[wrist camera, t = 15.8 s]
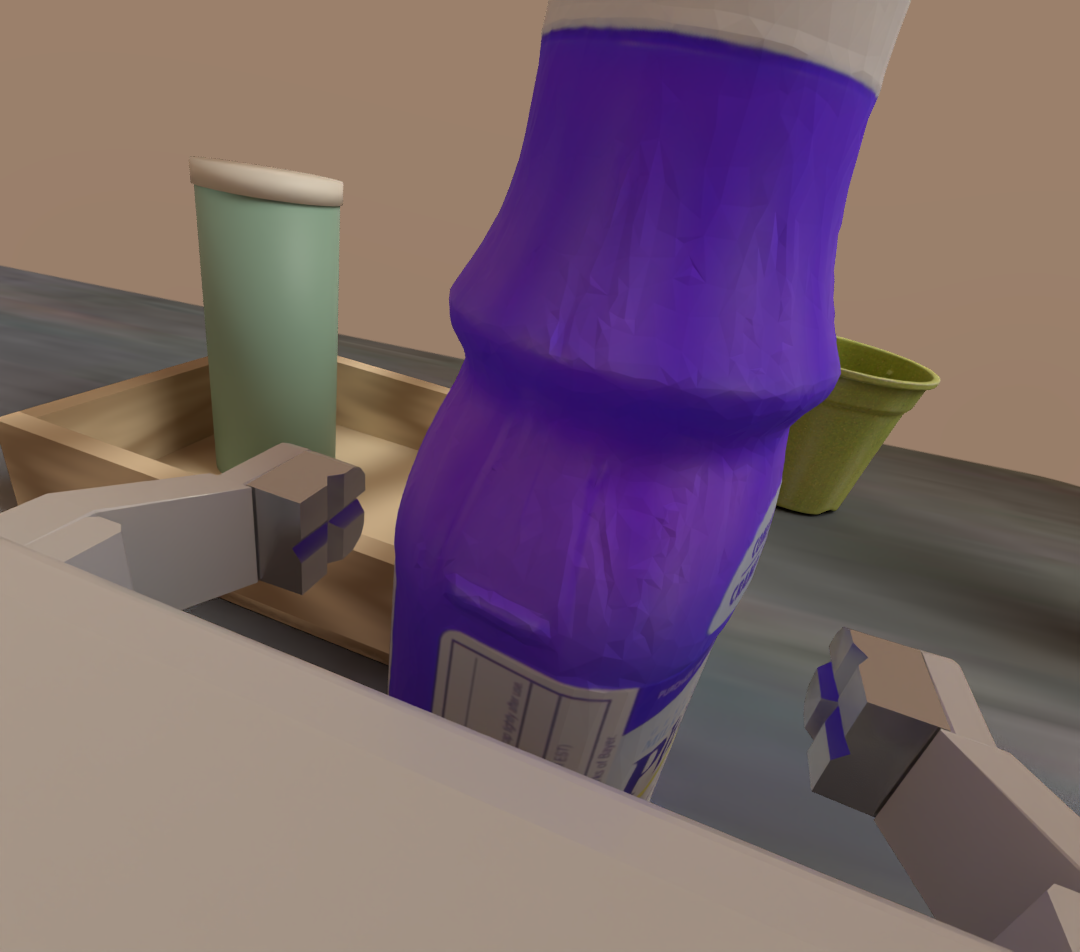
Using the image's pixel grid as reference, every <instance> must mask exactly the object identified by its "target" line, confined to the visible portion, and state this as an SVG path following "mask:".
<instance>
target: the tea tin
mask: <svg viewBox="0 0 1080 952" xmlns="http://www.w3.org/2000/svg"><path fill="white" fill-rule="evenodd" d="M189 168H190V180H191V183H193V184H194V190H195V203H196V215H197V227H198V239H199V252H200V265H201V276H202V289H203V302H204V314H205V327H206V339H207V352H208V364H209V376H210V389H211V401H212V414H213V426H214V438H215V451H216V463H217V468H218V469H219V471H220V472H221V473H224V472H226V471H228V470H230V469H232V468H233V467H235V466H237V465H239V464H241V463H243V462H245V461H247V460H249V459H251V458H253V457H255V456H257V455H259V454H261V453H263V452H265V451H266V450H268V449H270V448H272V447H274V446H276V445H278V444H280V443H291V444H294V445H297V446H300V447H304V448H307V449H310V450H311V451H315V452H318V453H321V454H324V455H326V456H329V457H332V458H335V452H336V397H337V341H338V284H339V229H340V228H339V226H340V225H339V224H340V206H342V205H343V182H341V181H339V180H335V179H331V178H326V177H322V176H317V175H313V174H308V173H302V172H297V171H291V170H286V169H280V168H274V167H269V166H262V165H257V164H250V163H244V162H237V161H230V160H223V159H215V158H206V157H195V156H193V157H192V156H190V157H189Z"/></svg>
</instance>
